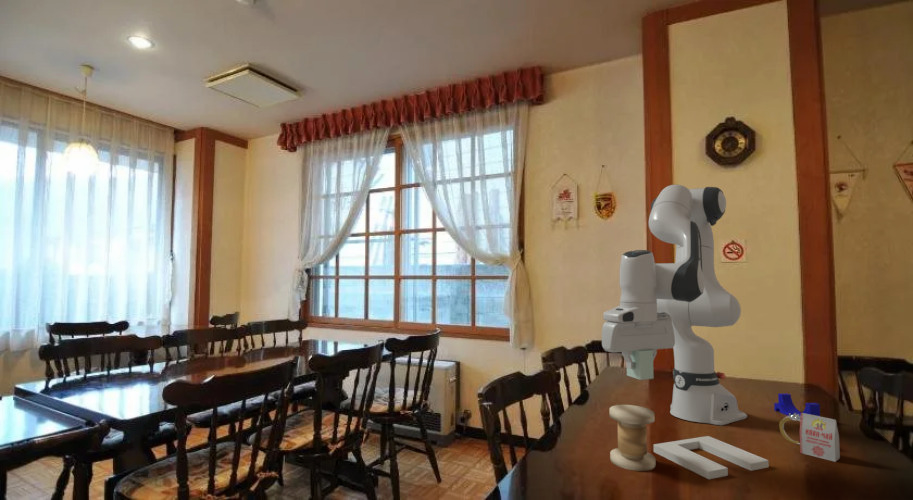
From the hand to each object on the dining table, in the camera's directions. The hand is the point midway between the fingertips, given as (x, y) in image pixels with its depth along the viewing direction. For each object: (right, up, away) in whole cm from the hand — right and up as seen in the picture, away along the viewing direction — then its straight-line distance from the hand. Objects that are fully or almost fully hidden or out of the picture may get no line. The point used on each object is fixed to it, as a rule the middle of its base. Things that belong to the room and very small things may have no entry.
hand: (639, 367), depth 112 cm
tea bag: (+42, -21, -5) cm, 47 cm away
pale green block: (0, -2, 0) cm, 2 cm away
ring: (+42, -21, +3) cm, 47 cm away
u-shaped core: (+14, -20, -7) cm, 26 cm away
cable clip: (+59, -23, +25) cm, 68 cm away
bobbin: (-5, -20, -8) cm, 22 cm away
